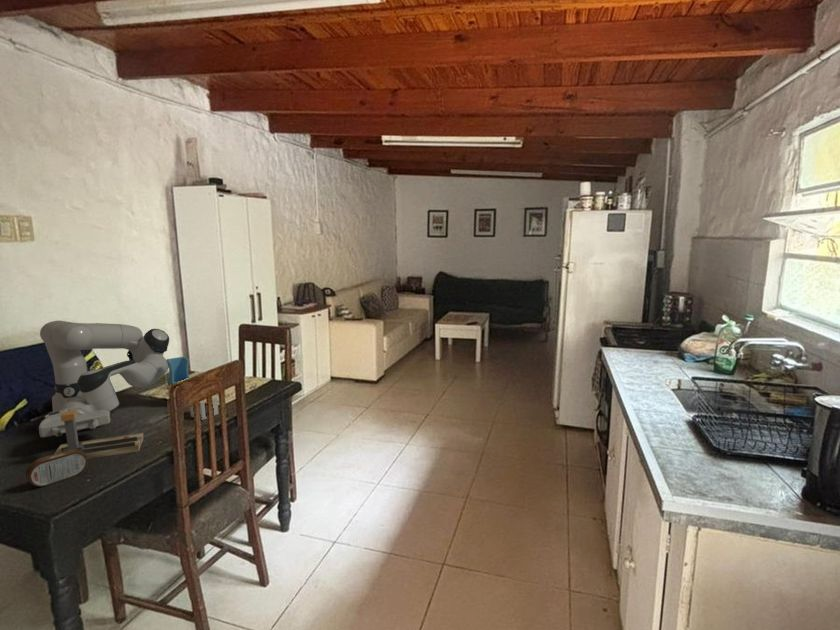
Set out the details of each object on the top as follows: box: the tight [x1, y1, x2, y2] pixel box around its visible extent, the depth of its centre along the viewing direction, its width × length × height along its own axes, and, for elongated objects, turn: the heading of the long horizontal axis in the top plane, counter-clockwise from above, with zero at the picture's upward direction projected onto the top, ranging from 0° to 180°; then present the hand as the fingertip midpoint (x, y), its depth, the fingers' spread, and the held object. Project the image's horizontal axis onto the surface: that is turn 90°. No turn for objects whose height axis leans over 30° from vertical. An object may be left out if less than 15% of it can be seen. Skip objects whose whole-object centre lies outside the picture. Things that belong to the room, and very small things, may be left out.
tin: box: [25, 449, 89, 488], centre depth 143 cm, size 15×3×8 cm, turn 141°
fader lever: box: [61, 410, 84, 452], centre depth 157 cm, size 4×5×14 cm
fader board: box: [53, 432, 145, 460], centre depth 163 cm, size 12×25×3 cm, turn 112°
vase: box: [166, 356, 190, 387], centre depth 208 cm, size 8×8×20 cm
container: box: [189, 395, 219, 421], centre depth 194 cm, size 8×8×13 cm
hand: (75, 430), depth 161 cm, fingers open, 8 cm apart
